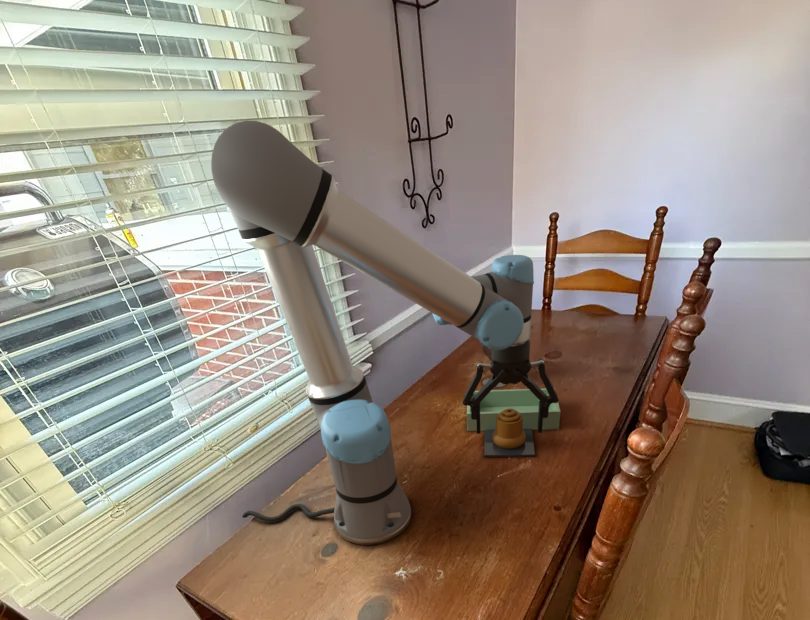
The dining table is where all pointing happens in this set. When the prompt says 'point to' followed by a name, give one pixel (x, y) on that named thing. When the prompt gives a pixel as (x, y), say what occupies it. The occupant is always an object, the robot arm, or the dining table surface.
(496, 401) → the tote
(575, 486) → the dining table surface
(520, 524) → the dining table surface
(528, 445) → the slate tile
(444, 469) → the dining table surface
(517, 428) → the ornamental finial
